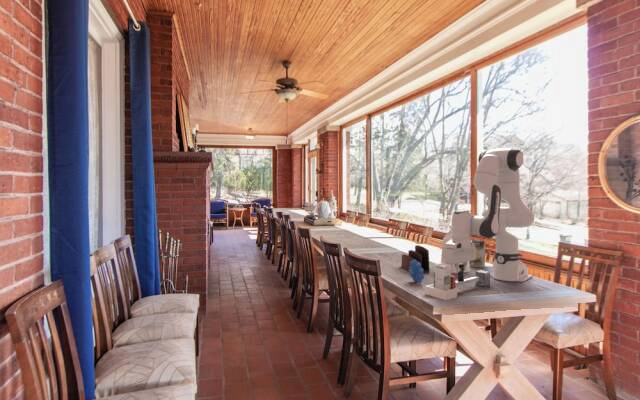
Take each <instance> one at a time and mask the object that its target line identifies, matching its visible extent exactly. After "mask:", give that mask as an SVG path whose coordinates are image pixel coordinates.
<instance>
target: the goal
mask: <svg viewBox="0 0 640 400" xmlns="http://www.w3.org/2000/svg"><path fill="white" fill-rule="evenodd" d="M424 295H426V296H429V295H430V297H433V298H437V299H439V300H444V301H448V300H451V299H452V298H453V299H455V298H456V299H457V298H458V288H457V287H456V288H454V289H450V290H446V291H445V290H441V289H437V288H434V283H433V284H428V285H424Z"/></svg>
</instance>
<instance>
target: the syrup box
mask: <svg viewBox="0 0 640 400" xmlns="http://www.w3.org/2000/svg"><path fill="white" fill-rule="evenodd" d="M451 276H452V273H451V265H449V264H446V263H441V262H440V263H436V264H433V284H434V288H437V289H441V290H445V291H446V290H450V289H451Z"/></svg>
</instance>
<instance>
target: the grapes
mask: <svg viewBox="0 0 640 400" xmlns="http://www.w3.org/2000/svg"><path fill="white" fill-rule="evenodd" d="M409 270H410V271H409ZM409 270H408V273H409V275H410V277H411V278H412V280H413V282H414V283H418V284H421V283H422V282H423V280H424V278H425V276H424V273H423V272H424V270H423V269H422V268H421V264H420V262H417V260H415V259H414V260H413V261H411V262H410V267H409Z"/></svg>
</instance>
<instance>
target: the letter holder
mask: <svg viewBox="0 0 640 400" xmlns="http://www.w3.org/2000/svg"><path fill="white" fill-rule="evenodd" d="M429 252H430V251H429V249H427V248H425V247H424V246H421V245H417V244H416V245H414V250H411V249H409V250H408V254H405V253H403V254H401V267H402V268H403V269H405V270H407V271H408V272H409V271H410V270H409V267H410V262H411V261H413V260H414V259H415V260H417V262H420V264H421V268H422V269H423V270H424V272H423V273H422V274H429V273H430V256H429V255H430V253H429Z"/></svg>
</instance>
